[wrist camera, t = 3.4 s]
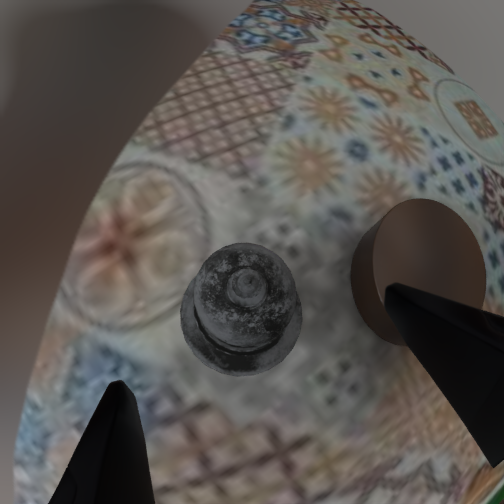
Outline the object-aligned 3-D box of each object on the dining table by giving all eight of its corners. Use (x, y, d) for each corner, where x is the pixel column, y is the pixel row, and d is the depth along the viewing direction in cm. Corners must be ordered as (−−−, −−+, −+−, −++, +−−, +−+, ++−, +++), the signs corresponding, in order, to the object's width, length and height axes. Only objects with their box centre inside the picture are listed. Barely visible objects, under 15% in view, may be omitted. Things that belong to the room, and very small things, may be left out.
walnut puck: (461, 243, 20) (489, 228, 17) (444, 358, 18) (475, 357, 14) (365, 200, 21) (385, 176, 18) (334, 325, 18) (354, 321, 15)
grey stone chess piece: (262, 256, 19) (298, 132, 8) (306, 342, 18) (415, 334, 6) (175, 296, 18) (86, 221, 7) (217, 386, 17) (184, 457, 5)
